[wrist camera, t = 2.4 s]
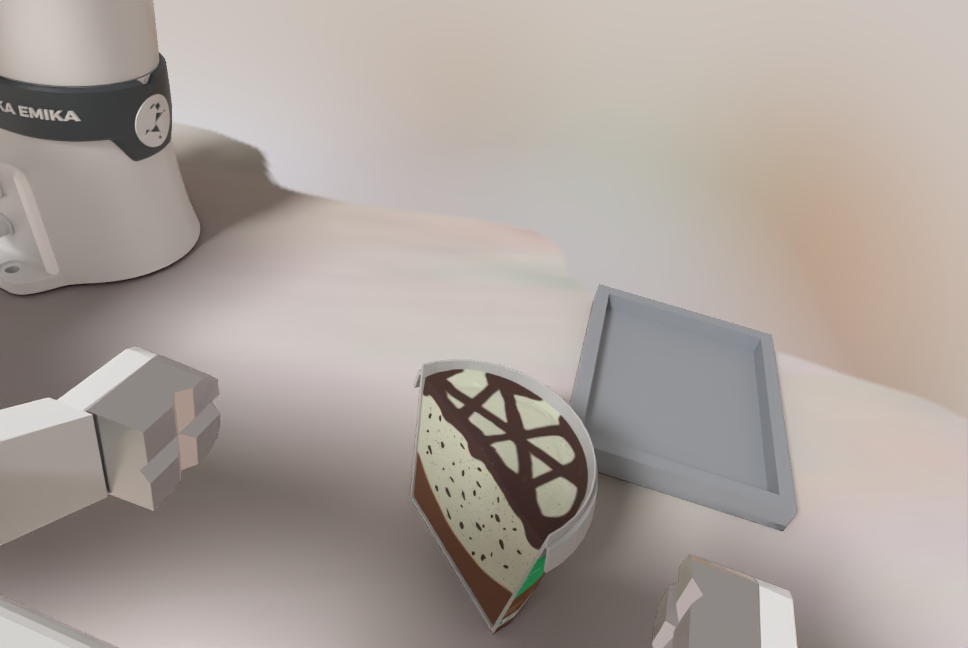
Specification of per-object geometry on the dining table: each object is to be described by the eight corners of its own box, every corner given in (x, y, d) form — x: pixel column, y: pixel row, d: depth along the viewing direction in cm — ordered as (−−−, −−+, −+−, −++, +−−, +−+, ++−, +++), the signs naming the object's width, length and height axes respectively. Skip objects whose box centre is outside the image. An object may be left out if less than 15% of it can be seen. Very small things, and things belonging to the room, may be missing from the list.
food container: (600, 608, 37) (662, 495, 31) (508, 660, 34) (557, 546, 28) (482, 447, 45) (513, 331, 39) (398, 478, 42) (417, 357, 36)
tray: (557, 458, 45) (564, 438, 44) (592, 302, 60) (599, 284, 59) (782, 531, 44) (796, 512, 43) (761, 352, 59) (771, 334, 57)
